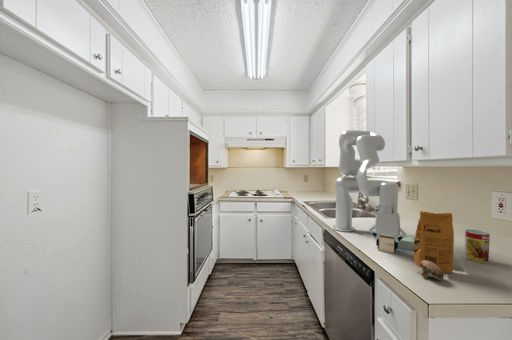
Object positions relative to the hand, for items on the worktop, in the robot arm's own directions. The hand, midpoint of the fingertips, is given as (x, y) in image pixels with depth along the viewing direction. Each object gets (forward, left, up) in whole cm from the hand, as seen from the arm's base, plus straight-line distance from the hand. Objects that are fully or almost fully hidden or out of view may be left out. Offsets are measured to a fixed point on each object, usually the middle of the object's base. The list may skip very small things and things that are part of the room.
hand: (386, 248), depth 119 cm
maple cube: (0, 0, -1) cm, 1 cm away
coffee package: (+10, +16, -2) cm, 20 cm away
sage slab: (-9, +6, -1) cm, 11 cm away
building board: (-5, +4, -2) cm, 7 cm away
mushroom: (+21, +15, -2) cm, 27 cm away
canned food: (-11, +33, -2) cm, 35 cm away
